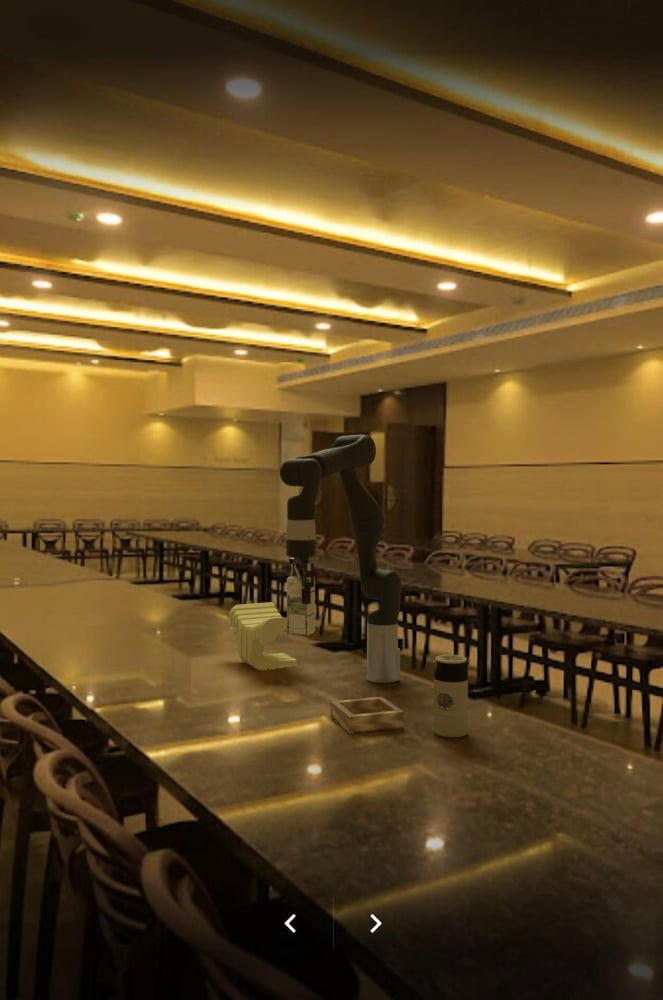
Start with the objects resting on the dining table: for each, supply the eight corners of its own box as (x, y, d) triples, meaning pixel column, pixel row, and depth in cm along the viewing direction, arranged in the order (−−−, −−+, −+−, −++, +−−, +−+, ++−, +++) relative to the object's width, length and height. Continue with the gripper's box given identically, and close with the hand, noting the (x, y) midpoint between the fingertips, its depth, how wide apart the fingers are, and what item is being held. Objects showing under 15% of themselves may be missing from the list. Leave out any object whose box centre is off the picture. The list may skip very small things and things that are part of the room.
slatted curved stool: (228, 657, 269) (228, 605, 269) (272, 653, 276) (272, 602, 276) (261, 677, 242) (261, 619, 242) (308, 672, 249) (309, 615, 249)
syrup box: (315, 631, 204) (315, 575, 203) (307, 636, 198) (307, 578, 198) (294, 630, 206) (294, 574, 205) (286, 634, 200) (286, 577, 200)
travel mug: (447, 725, 195) (447, 652, 195) (474, 733, 189) (474, 658, 189) (426, 733, 190) (427, 657, 189) (453, 740, 184) (454, 663, 183)
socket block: (381, 712, 206) (381, 696, 206) (403, 728, 193) (403, 711, 193) (330, 717, 202) (330, 701, 202) (349, 733, 189) (349, 717, 189)
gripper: (324, 539, 196) (324, 605, 196) (306, 535, 209) (307, 596, 210) (294, 540, 193) (294, 606, 194) (279, 535, 207) (279, 598, 207)
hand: (301, 601), depth 202 cm, fingers closed on syrup box, 8 cm apart
